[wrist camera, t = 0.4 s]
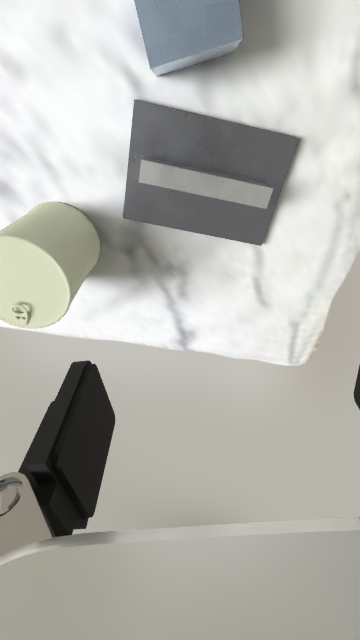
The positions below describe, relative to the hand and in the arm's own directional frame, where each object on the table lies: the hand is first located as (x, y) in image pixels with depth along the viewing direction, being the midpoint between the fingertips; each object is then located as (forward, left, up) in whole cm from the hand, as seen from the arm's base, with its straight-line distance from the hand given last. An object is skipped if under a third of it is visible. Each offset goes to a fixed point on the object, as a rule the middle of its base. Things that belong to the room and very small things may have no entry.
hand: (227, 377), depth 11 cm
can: (+8, -15, -28) cm, 33 cm away
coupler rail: (-2, 0, -28) cm, 28 cm away
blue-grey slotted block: (-14, -4, -28) cm, 32 cm away
